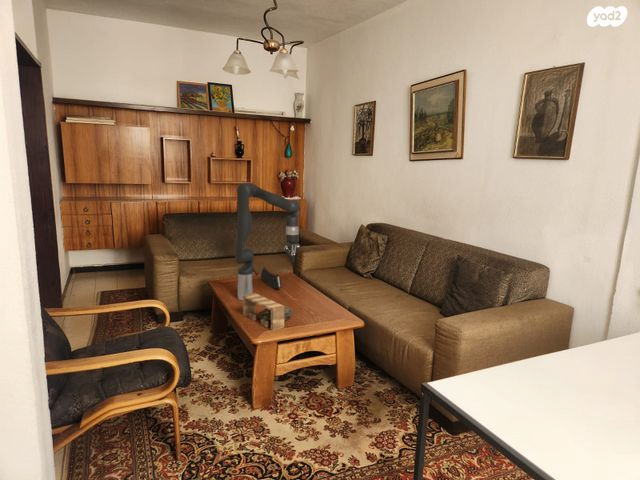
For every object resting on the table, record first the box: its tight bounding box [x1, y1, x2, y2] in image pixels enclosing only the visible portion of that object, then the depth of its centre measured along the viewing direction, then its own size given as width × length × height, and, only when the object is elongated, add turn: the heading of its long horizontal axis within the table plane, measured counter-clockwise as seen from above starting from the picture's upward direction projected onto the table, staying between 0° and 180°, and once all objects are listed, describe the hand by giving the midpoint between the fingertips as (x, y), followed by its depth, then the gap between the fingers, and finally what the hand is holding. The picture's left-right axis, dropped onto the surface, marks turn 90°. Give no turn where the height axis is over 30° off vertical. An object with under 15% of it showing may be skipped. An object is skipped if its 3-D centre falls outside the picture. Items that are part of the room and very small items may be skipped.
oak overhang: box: [242, 292, 285, 332], centre depth 229 cm, size 29×8×12 cm, turn 43°
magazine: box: [260, 266, 283, 291], centre depth 295 cm, size 17×3×30 cm
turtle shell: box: [257, 305, 294, 323], centre depth 234 cm, size 16×9×20 cm
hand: (291, 261), depth 249 cm, fingers closed
